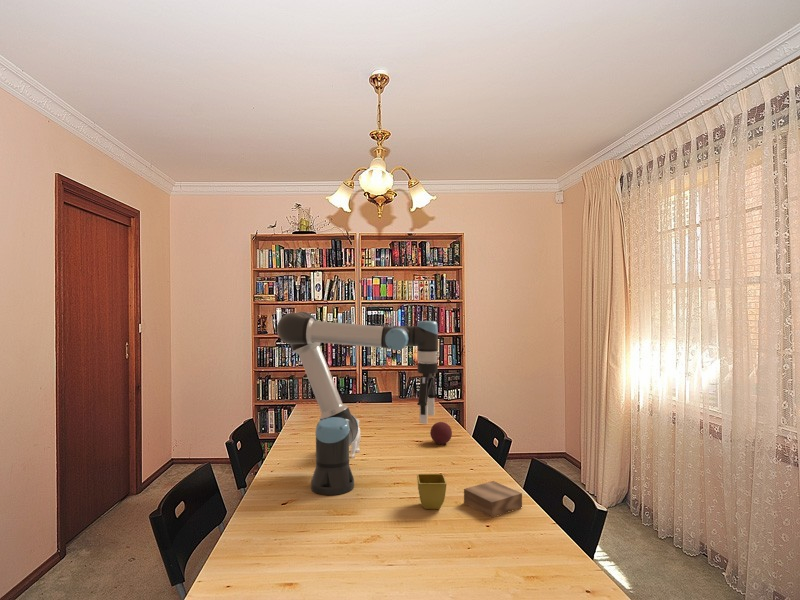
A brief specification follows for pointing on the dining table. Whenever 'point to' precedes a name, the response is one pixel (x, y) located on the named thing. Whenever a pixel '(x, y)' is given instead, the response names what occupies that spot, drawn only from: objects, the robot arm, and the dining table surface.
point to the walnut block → (492, 498)
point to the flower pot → (431, 490)
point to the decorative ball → (441, 432)
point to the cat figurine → (355, 443)
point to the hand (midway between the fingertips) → (427, 419)
